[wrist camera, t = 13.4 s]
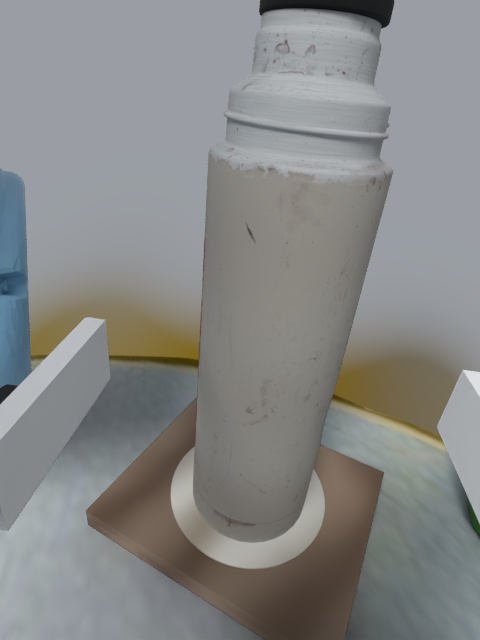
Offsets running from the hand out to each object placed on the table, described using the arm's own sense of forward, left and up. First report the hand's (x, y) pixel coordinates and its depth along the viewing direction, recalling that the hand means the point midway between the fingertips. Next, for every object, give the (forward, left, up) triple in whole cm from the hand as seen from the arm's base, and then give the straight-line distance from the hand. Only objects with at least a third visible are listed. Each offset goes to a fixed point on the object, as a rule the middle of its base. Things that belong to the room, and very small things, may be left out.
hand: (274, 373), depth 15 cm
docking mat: (-3, +6, -17) cm, 18 cm away
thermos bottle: (-2, +6, -16) cm, 17 cm away
